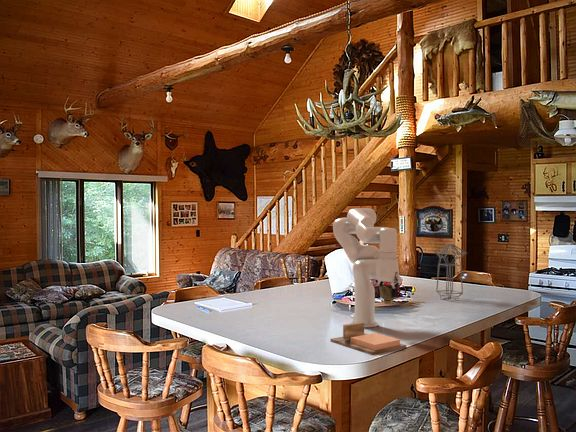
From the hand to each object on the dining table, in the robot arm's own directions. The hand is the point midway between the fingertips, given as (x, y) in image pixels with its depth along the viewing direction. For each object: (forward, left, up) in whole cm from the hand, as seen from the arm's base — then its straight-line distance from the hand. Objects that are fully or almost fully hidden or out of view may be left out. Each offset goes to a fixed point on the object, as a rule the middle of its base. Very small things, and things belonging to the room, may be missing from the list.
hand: (387, 295), depth 230 cm
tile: (+10, -18, -14) cm, 25 cm away
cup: (0, 0, -4) cm, 4 cm away
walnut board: (+6, -18, -18) cm, 26 cm away
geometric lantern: (-44, +101, -18) cm, 112 cm away
